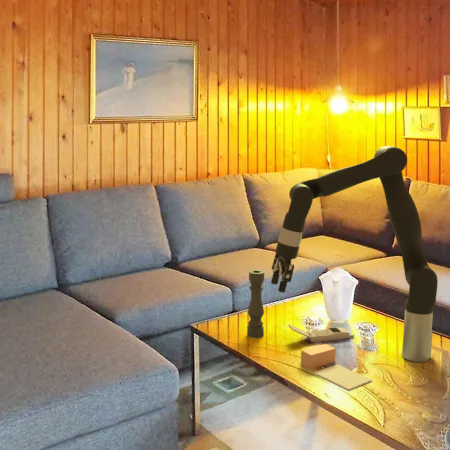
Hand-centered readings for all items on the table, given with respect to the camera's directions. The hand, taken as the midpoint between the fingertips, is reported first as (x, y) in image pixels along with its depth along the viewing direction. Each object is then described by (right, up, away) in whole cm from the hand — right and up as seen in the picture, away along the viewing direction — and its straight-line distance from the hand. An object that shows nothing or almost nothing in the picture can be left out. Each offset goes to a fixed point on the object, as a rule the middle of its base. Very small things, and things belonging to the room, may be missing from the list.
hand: (277, 287), depth 213 cm
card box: (+14, -26, +1) cm, 29 cm away
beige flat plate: (+20, -28, -10) cm, 36 cm away
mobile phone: (+18, -22, +23) cm, 36 cm away
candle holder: (-6, -21, +25) cm, 33 cm away
